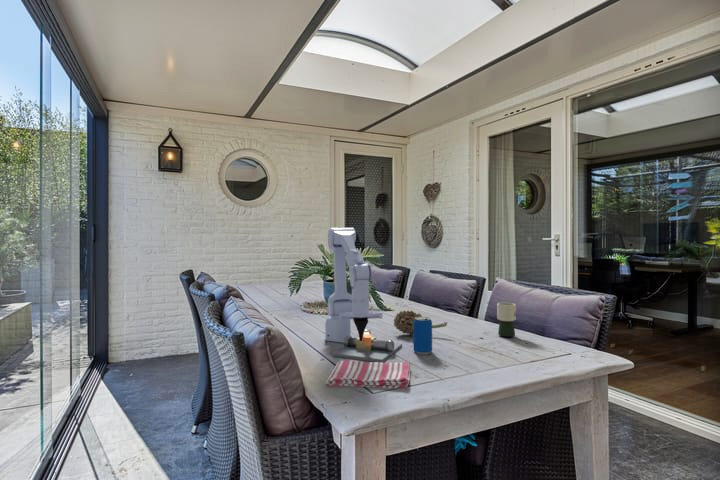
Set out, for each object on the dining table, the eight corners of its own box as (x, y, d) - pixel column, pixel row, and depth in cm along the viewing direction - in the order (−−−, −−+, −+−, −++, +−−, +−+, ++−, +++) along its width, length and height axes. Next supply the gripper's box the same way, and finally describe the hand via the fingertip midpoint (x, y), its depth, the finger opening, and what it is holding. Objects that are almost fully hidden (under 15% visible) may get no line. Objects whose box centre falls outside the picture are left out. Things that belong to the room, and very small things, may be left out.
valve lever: (361, 335, 149) (361, 328, 149) (370, 335, 149) (370, 328, 149) (362, 345, 137) (362, 337, 137) (372, 345, 137) (372, 337, 137)
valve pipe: (343, 348, 149) (343, 337, 148) (349, 345, 153) (348, 334, 153) (390, 354, 141) (390, 342, 141) (395, 350, 146) (395, 338, 145)
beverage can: (432, 355, 141) (431, 320, 141) (412, 354, 143) (412, 319, 142) (432, 350, 148) (432, 316, 147) (414, 349, 149) (413, 316, 149)
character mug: (520, 340, 159) (520, 306, 159) (501, 339, 160) (501, 306, 159) (511, 332, 170) (511, 301, 170) (493, 332, 171) (493, 301, 170)
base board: (333, 356, 142) (333, 353, 142) (357, 341, 160) (357, 338, 160) (382, 362, 134) (382, 359, 134) (402, 346, 153) (402, 343, 152)
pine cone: (392, 337, 165) (392, 312, 165) (394, 331, 175) (394, 308, 174) (449, 339, 162) (449, 313, 161) (447, 333, 171) (447, 309, 171)
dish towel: (409, 391, 112) (409, 378, 112) (324, 387, 115) (324, 375, 115) (410, 369, 129) (410, 358, 129) (336, 367, 132) (336, 356, 132)
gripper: (339, 302, 134) (339, 344, 135) (383, 301, 136) (383, 342, 136) (338, 298, 141) (339, 338, 142) (380, 297, 143) (381, 337, 143)
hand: (360, 340), depth 139 cm, fingers closed
